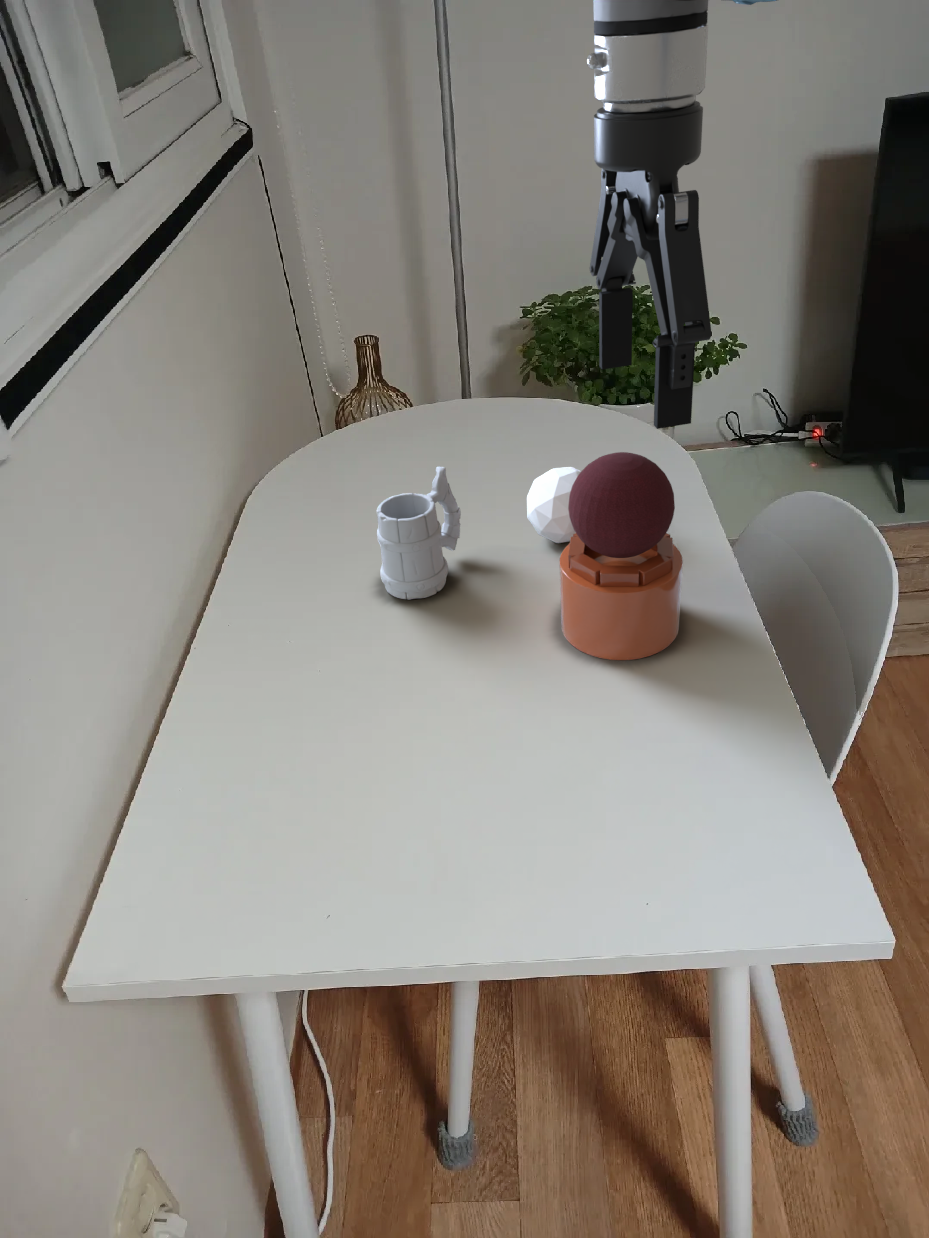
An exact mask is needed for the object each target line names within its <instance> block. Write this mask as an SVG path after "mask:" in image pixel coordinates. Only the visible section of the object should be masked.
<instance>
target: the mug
mask: <svg viewBox="0 0 929 1238" xmlns="http://www.w3.org/2000/svg"><path fill="white" fill-rule="evenodd" d="M435 473H436V475H435V476H434V478H433V479H432V483H431V490H430V492H429V493H426V494H424V493H414V492H406V493H399V494H395V495H391V496H390V497H387V498H385V499H384V500H383V501H382V502H380V503H379V505H378V506H377V508H376V516H377V525H378V528H377V530H376V538H377V542H378V544H379V545H380V553H381V563H382V564H381V565H380V571H379V572H380V579H381V581H382V583H383V585H384V587H385V590H386V592H387V593H388V594H389V595H391V596H392V597H394V598H398V599H401V600H415V599H424V598H425V599H426V598H429V597H431V596H434V595H436V594H437V592H440V591H441V590H442V589H444V587H445V585H446V581H447V576H448V575H449V565H448V561H447V559H446V557H445V556H444V553H443V548H445V549H447V550H449V551H456V547H457V543H458V539H460V538H461V520H460V519H461V515H462V514H461V513H462V512H461V508H460V507H459V505H458V503H457V500H456V498H455V496H454V494H453V492H452V489H451V488H452V487H451V486H450V483H449V482H448V477H447V469H446V467H445V466H441V465H438V466H436V467H435ZM436 503H438V504H439V505H440V506H441V507H442V508H443V519H444V522H442V526H441V522H440V521H439V520H438V515H437V508H436Z"/></svg>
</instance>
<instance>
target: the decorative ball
mask: <svg viewBox="0 0 929 1238" xmlns="http://www.w3.org/2000/svg"><path fill="white" fill-rule="evenodd" d="M580 471H581V472H580V473H579V475H578V477H577V478H576V480H575V482H574V484H573V485H572V489H571V492H570V496H569V506H568V510H569V517H570V520H571V523H572V526H573V529H574V531H575V532H576V534H577V535H578V537H579V538H580V539H581V541H582V542H583V543H585V544H586V545H587V546H588V547H589V548H590V549H592V550H593V551H595V552H597V553H600V554H602V555H605V556H608V557H613V558H628V557H633V556H637V555H639V554H642V553H644V552H646V551H648V550H650V549H651V548H652V547H654V546H655V545H656V544H657V543H658V542H660V540H661V539H662V538H663V536H664V535H665V534H666V533H667V532H668V531H669V530H670V526H671V524H672V521H673V519H674V515H675V508H676V505H675V493H674V489H673V486H672V483H671V482H670V480H669V478H668V476H667V475H666V473H665V471H663V470H662V469H661V467H659V465H658V464H657V463H655V462H654V461H653V460H651V459H649V458H647V457H646V456H643V455H641V454H637V453H633V452H627V451H618V452H612V453H608V454H603V455H601V456H599V457H598V458H596V459H595V460H593V461H591V462H589V463H588V464H587V465H586V466H585V467H584V468H583V469H582V470H580Z"/></svg>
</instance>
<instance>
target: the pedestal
mask: <svg viewBox="0 0 929 1238" xmlns="http://www.w3.org/2000/svg"><path fill="white" fill-rule="evenodd" d="M673 542H674V540H673V537H672V536H671V534H670V533H667V532H666V534H665V535H664V536H663V538H662V539H661V540H660V542H658V543H657V544H656V545H655V546H654V547H652V548H651V549H650V550H648V551H646V552H644V553H642V554H639V555H637V556H633V557H628V558H613V557H608V556H605V555H602V554H600V553H597V552H595V551H593V550H592V549H590V548H589V547H588V546H587V545H586V544H585V543H583V542H582V541H581V539H580V538H579V537H578V535H577V534H576V533H575V534H573V537H571V538H570V541H569V543H568V544H567V545H566V546H565V547H564V549H563V550H562V552H561V554H560V557H559V586H560V593H559V594H560V619H561V620H560V621H561V623H560V624H561V627H560V628H561V632H562V634H563V636H564V638H565V639H566V641H567V642H568V643H569V644H570V645H571V646H572V647H574V648H575V649H577V650H578V651H580V652H582V653H584V654H587V655H589V656H591V657H595V658H599V659H603V660H609V661H631V660H639V659H644V658H648V657H650V656H653V655H656V654H658V653H660V652H662V651H664V650H665V649H666V648H668V647H669V646H670V645H671V644H672V643H673V642H674V641H675V640H676V638H677V636H678V634H679V629H680V613H681V598H682V597H681V596H682V595H681V594H682V580H683V579H682V577H683V564H684V563H683V562H684V560H683V556H682V553H681V551H680V550H679V548H678V547H677V546H676V545H675V544H674V543H673Z"/></svg>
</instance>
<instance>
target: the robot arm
mask: <svg viewBox="0 0 929 1238" xmlns="http://www.w3.org/2000/svg"><path fill="white" fill-rule="evenodd" d="M722 1H725V2H726V1H727V2H730V1H731V2H733V3H734V4H738V5H747V6H752V5H754V4H756V3H768V2H769V3H771V2H776V1H778V0H722ZM592 2H593V34H594V35H593V48H594V52H592V53H589V54H588V55H587V57H586V63H587V67H588V68H589V70H594V73H593V75H594V76H593V78H594V80H593V81H594V83H593V84H594V85H593V86H594V89H593V90H594V91H593V92H594V98H595V99H596V100H597V101H598V102H600V103H603V105H602V106H601V107H599V108H598V109H597V110H596V113H595V114H594V115H593V159H594V163H595V165H596V166H597V167H599V168H600V169H601V170H600V179H601V180H600V196H599V197H600V198H599V203H598V209H597V216H596V224H595V230H594V237H593V243H592V250H591V257H590V263H589V273H590V275H591V277H595V284H596V286H597V289H598V290H601V291H600V292H598V335H599V336H598V339H599V340H598V341H599V343H598V344H599V345H598V346H599V352H598V353H599V355H598V356H599V360H598V362H599V366H598V367H599V368H600V369H601V370H602V371H603V370H609V369H615V368H622V367H627V366H633V365H632V363H633V361H632V360H633V359H632V358H633V306H634V305H633V304H634V303H633V301H634V299H633V297H634V289H632V288H631V287H626V286H632V285H636V284H637V281H636V277H635V274H634V268H635V265H636V262H637V260H638V258H639V259H641V260H643V261H644V263H645V267H646V272H647V276H648V279H649V280H648V281H649V286H650V291H651V295H652V299H653V304H654V308H655V312H656V318H657V322H658V327H659V332H660V335H657V336H656V337H655V338H654V340H653V341H652V345H653V347H654V348H655V365H654V367H655V369H654V370H655V371H654V398H653V399H654V400H653V402H654V403H653V404H654V405H653V426H654V427H655V428H656V429H657V430H658V429H664V428H672V427H677V426H684V425H689V424H692V413H693V394H694V377H695V376H694V375H695V374H694V373H695V358H696V357H695V354H696V343H699V342H703V341H704V342H705V341H709V340H711V337H712V326H711V317H710V309H709V302H708V300H709V299H708V291H707V284H706V275H705V268H704V261H703V260H704V259H703V251H702V244H701V243H702V242H701V236H700V235H701V234H700V226H699V225H700V224H699V223H700V196H699V192H698V190H696V189H692V190H685V191H680V188H679V177H678V172H679V171H680V170H681V169H682V168H683V167H685V166H689V165H692V164H693V163H695V162H696V161H697V160H699V158H700V156H701V153H702V138H703V116H704V107H703V106H702V105H701V102H700V101H697V100H696V99H697V96H698V95H700V94H701V93H703V91H704V90H705V88H706V78H707V77H706V75H707V58H708V57H707V56H708V55H707V54H708V35H709V24H708V11H709V0H593V1H592ZM623 287H624V288H623Z"/></svg>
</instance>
